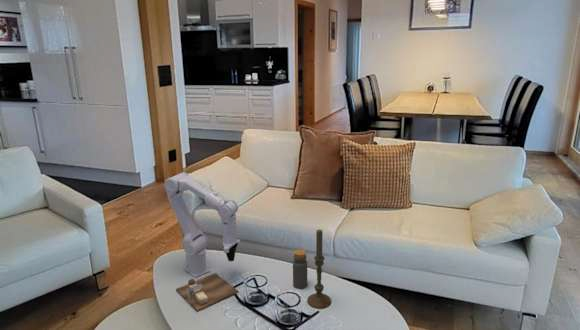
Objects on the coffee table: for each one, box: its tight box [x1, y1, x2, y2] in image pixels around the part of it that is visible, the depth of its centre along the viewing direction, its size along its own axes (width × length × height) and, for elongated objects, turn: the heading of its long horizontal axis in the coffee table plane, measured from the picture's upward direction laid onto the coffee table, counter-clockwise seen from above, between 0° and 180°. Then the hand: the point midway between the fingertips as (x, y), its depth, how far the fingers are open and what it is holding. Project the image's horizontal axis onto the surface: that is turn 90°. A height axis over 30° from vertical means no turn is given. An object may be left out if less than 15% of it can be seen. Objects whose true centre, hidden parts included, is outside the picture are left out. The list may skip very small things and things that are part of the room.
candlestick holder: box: [306, 229, 332, 310], centre depth 144 cm, size 9×9×30 cm
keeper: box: [186, 284, 204, 300], centre depth 150 cm, size 3×6×4 cm, turn 125°
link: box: [187, 278, 208, 305], centre depth 151 cm, size 14×3×3 cm, turn 34°
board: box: [175, 272, 239, 313], centre depth 155 cm, size 18×18×1 cm
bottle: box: [292, 248, 308, 290], centre depth 157 cm, size 6×6×15 cm
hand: (231, 260), depth 162 cm, fingers closed
